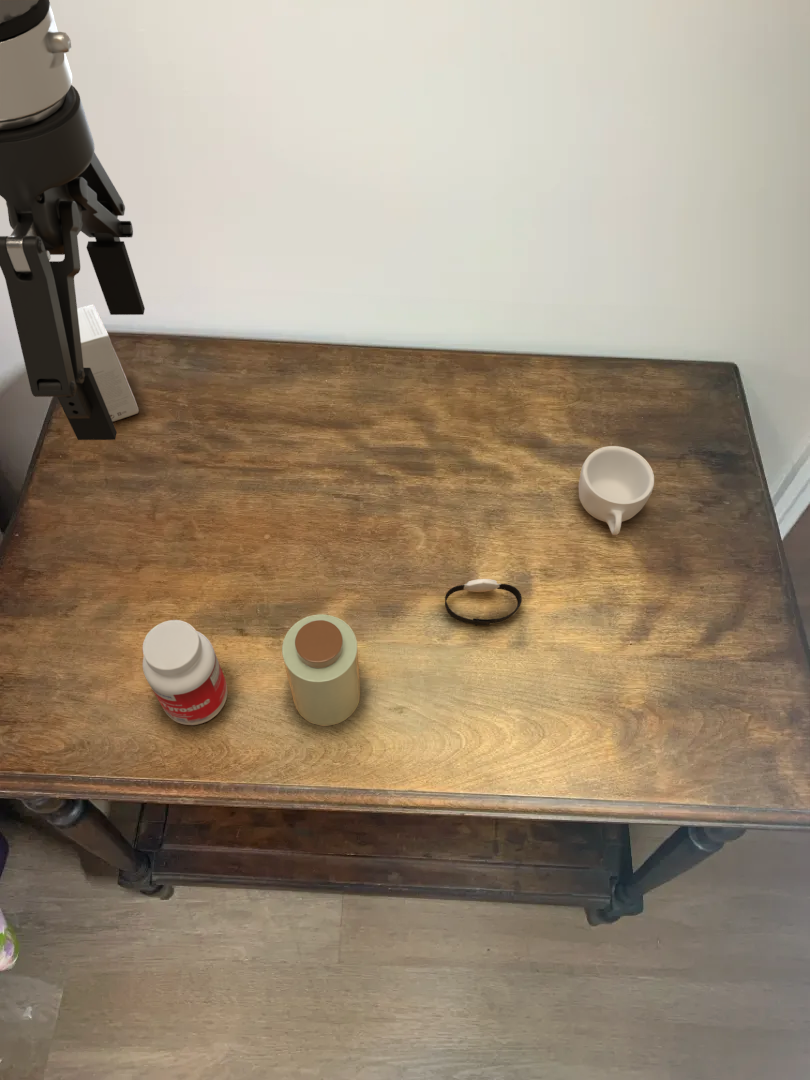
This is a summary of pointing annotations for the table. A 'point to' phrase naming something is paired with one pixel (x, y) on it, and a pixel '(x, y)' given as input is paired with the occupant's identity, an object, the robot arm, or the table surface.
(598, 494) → the teacup
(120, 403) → the cosmetic box
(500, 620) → the watch
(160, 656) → the pill bottle
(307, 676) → the canister
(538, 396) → the table surface
